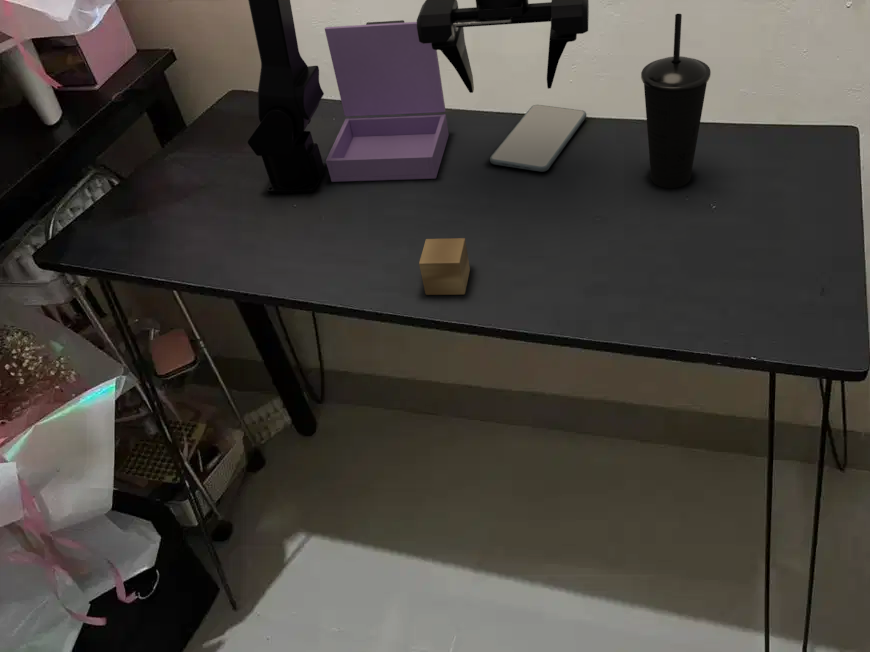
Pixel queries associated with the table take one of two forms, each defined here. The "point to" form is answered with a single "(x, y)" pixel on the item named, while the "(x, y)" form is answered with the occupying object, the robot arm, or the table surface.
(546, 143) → the smartphone
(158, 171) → the table surface
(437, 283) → the block
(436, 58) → the purple hinged lid
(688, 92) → the drinking cup
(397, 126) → the purple box
